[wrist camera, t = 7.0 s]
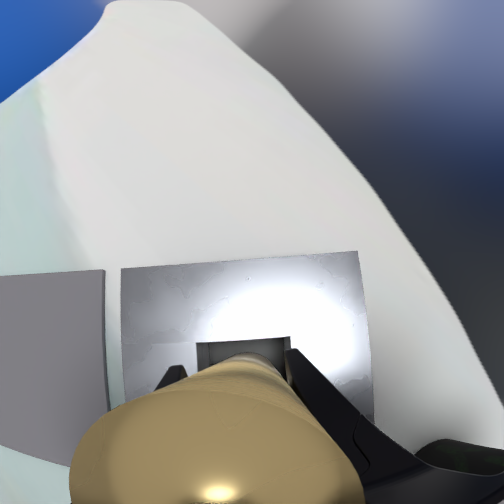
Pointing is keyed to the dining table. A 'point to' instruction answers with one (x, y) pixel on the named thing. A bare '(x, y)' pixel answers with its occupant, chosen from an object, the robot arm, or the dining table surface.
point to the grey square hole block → (248, 317)
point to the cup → (463, 457)
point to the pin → (214, 445)
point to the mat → (51, 361)
